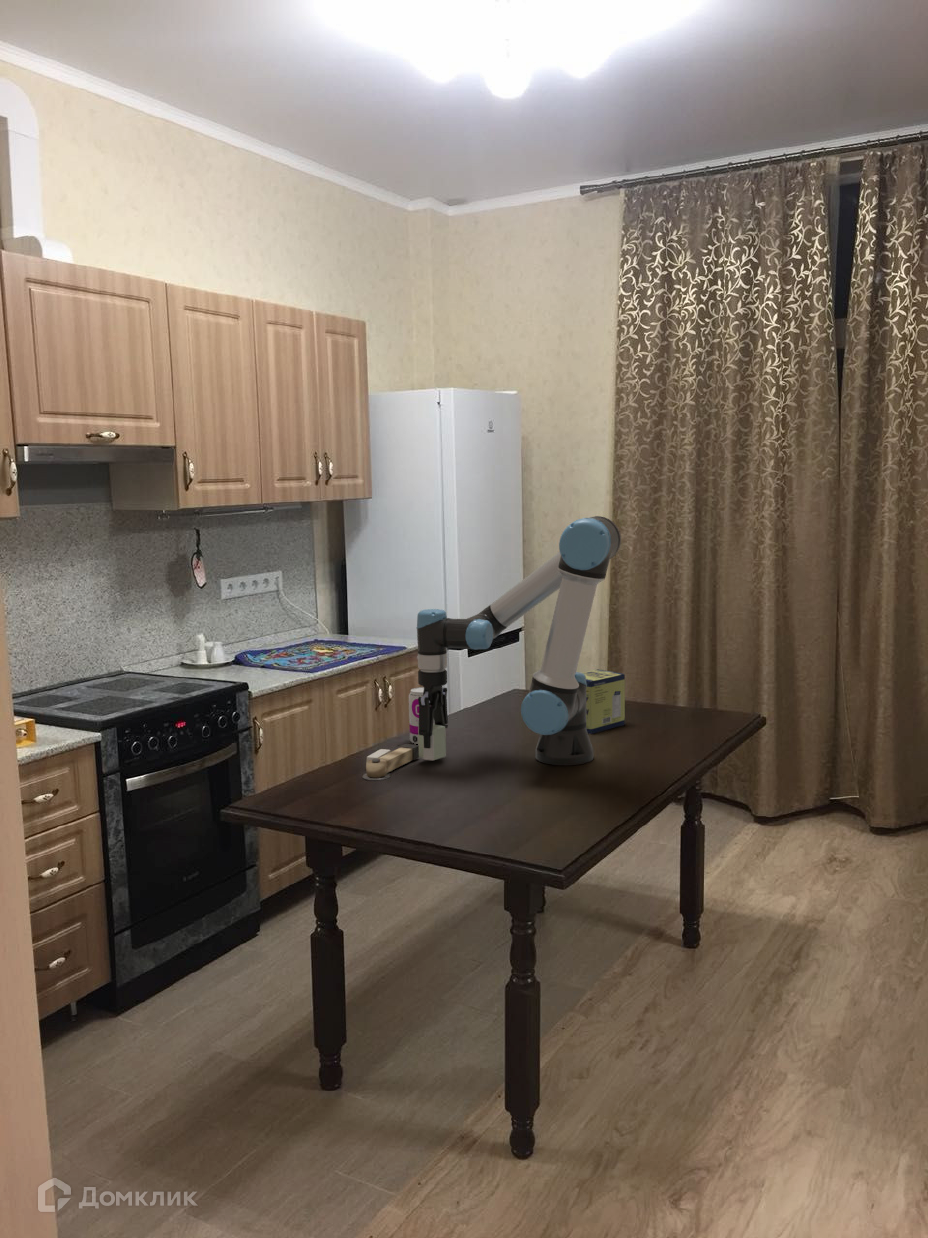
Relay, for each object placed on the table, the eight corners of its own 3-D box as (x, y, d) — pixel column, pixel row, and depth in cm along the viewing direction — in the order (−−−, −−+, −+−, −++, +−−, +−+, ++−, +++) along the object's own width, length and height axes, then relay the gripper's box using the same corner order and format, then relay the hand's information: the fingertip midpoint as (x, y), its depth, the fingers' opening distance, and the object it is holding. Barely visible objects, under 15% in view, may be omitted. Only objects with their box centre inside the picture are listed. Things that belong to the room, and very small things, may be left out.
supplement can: (435, 746, 289) (434, 693, 286) (406, 745, 290) (405, 692, 288) (442, 738, 296) (440, 687, 294) (413, 738, 298) (412, 686, 296)
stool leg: (379, 778, 258) (379, 763, 258) (362, 776, 260) (362, 761, 260) (420, 757, 276) (420, 743, 275) (404, 755, 278) (404, 741, 278)
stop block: (391, 761, 274) (390, 750, 274) (377, 770, 267) (377, 758, 266) (380, 760, 275) (380, 749, 275) (367, 769, 268) (366, 757, 268)
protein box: (563, 728, 305) (563, 676, 303) (598, 719, 316) (598, 668, 313) (591, 734, 298) (590, 681, 295) (625, 724, 308) (625, 673, 306)
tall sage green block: (445, 756, 273) (445, 726, 272) (432, 760, 269) (432, 730, 268) (431, 753, 276) (431, 723, 275) (418, 757, 273) (418, 727, 272)
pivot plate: (395, 773, 263) (395, 772, 263) (383, 781, 257) (383, 780, 257) (370, 771, 266) (370, 770, 266) (357, 779, 260) (357, 778, 260)
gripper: (433, 661, 279) (435, 745, 283) (403, 675, 262) (405, 764, 265) (459, 663, 277) (461, 748, 280) (430, 677, 259) (432, 767, 262)
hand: (434, 756), depth 273 cm, fingers closed on tall sage green block, 6 cm apart
